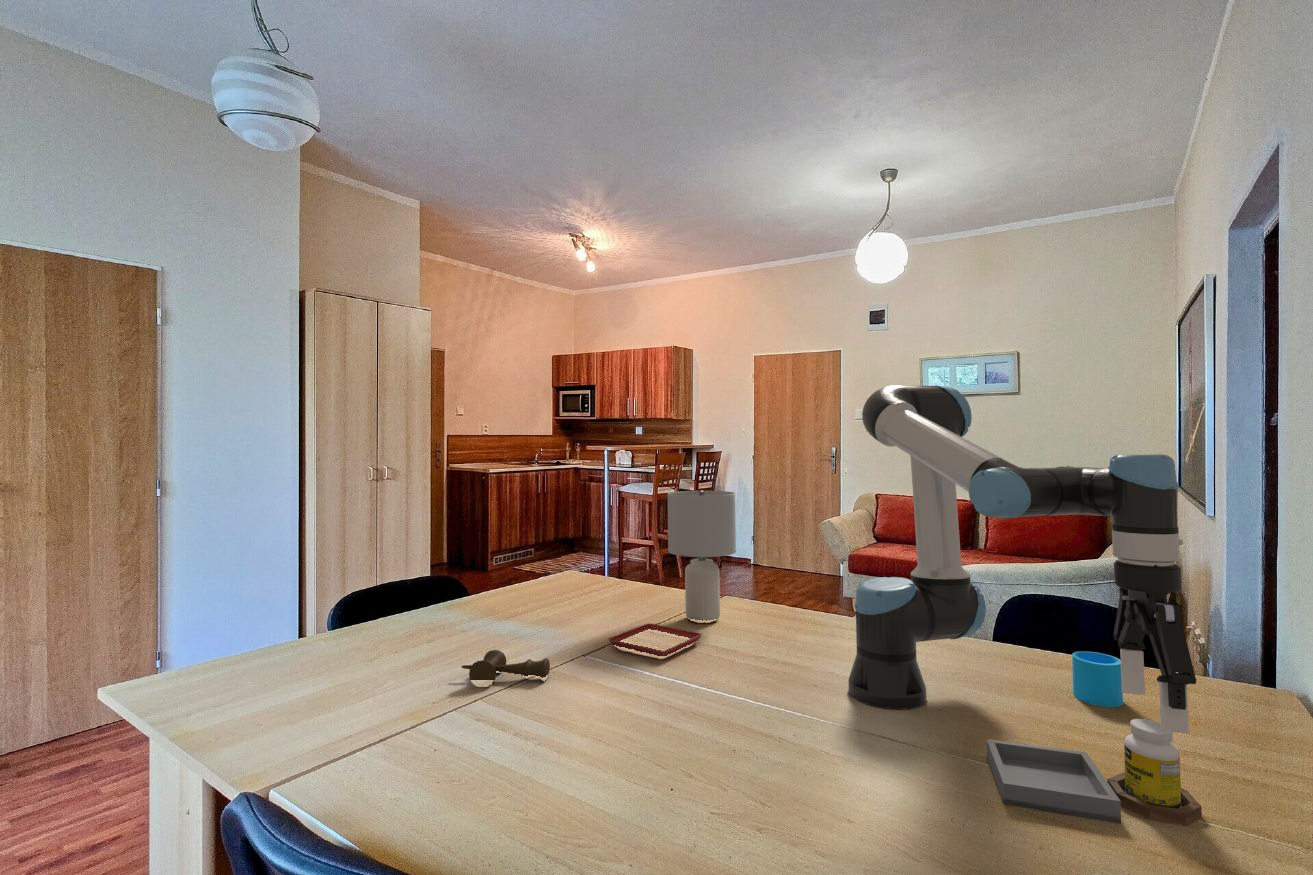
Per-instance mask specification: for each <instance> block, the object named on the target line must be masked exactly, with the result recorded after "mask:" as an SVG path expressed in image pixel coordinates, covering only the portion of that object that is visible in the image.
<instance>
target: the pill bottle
mask: <svg viewBox="0 0 1313 875" xmlns="http://www.w3.org/2000/svg"><path fill="white" fill-rule="evenodd" d="M1129 723H1130V725H1129V726H1130V727H1129V730H1130V732H1131V734H1128V735H1127V736H1126V737H1125V739H1124V752H1123V753H1124V773H1125V789H1124V790H1125V791H1124V792H1125V793H1126V794H1128V795H1130V796H1132V797H1135V798H1137V799H1139V800H1141V801H1144V802H1146V803H1148V804H1150V805H1156V806H1163V807H1169V808H1176V809H1180V808H1182V804H1181V788H1182V787H1181V780H1182V779H1181V755H1180V751H1179V749H1178V748H1177V747H1176V746H1175V745H1174V744H1173V743H1172V742H1173V736H1174V735H1173V732H1169V731H1163V730H1162V729H1161V722H1158V721H1155V720H1151V719H1147V718H1146V719H1145V718H1134V719H1131V720H1130V722H1129Z"/></svg>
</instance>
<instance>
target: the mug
mask: <svg viewBox="0 0 1313 875" xmlns="http://www.w3.org/2000/svg"><path fill="white" fill-rule="evenodd" d="M1071 659H1072V660H1071V661H1072V665H1071V666H1072V667H1071V668H1072V694H1073V697H1074V698H1075V699H1077V700H1079V701H1081V702H1083V703H1086V704H1089V705H1093V706H1097V707H1105V708H1119V707H1122V706H1123V704H1124V693H1123V692H1122V681H1121V658H1118V657H1116V656H1113V655H1109V654H1105V653H1102V652H1101V653H1100V652H1096V651H1095V652H1094V651H1075V652H1073V653H1072V655H1071Z"/></svg>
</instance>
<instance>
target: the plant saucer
mask: <svg viewBox="0 0 1313 875" xmlns="http://www.w3.org/2000/svg"><path fill="white" fill-rule="evenodd" d="M648 629H651V630H658V631H661V632H667V633H670V634H675V635H678V636H684V637H688V638H690V639H689V640H687V641H685V642H683V643H680V644H678V645H676V646H674V647H672V648H669V649H667V650H665V651H661V650H656V649H652V648H648V647H643V646H638V645H633V644H629V643H624V642H620V641H621V640H623V639H626V638H628V637H630V636H633V635H635V634H638V633H639V632H643V631H645V630H648ZM702 635H703V634H702V633H701V632H696V631H691V630H685V629H680V628H677V627H676V628H675V627H670V626H664V625H660V624H656V623H655V624H654V623H646V624H644V625H640V626H638V627H636V628H633V629H632V628H631V629H630V630H626V631H624V632H621V633H619V634H617V635H614V636H612V637H608V639H607V640H608V641H609V643H611V645H612V646H613V645H616V646H619V647H625V648H628V649H634V650H636V651H640V652H646V653H649V654H654V655H657V656H667V655H668V654H671V653H673V652H676V651H677V650H679V649H681V648H683V647H686V646H687V645H690V644H692V643H694V642H696V641H697V642H698V641H699V640H700V638H701V637H702ZM697 642H696V643H697Z"/></svg>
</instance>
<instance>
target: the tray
mask: <svg viewBox="0 0 1313 875" xmlns="http://www.w3.org/2000/svg"><path fill="white" fill-rule="evenodd" d="M985 742H986V743H985V744H986V759H987V762H988V765H989V768H990V770H991V772H992V776H993V779H994V781H995V783H996V787H997V790H998V793H999V794H1000V798H1001V799H1002V800H1001V801H1002V803H1003V805H1005V806H1012V807H1019V808H1024V809H1029V810H1030V809H1031V810H1036V811H1042V812H1049V813H1055V814H1061V815H1066V816H1073V817H1080V818H1086V819H1091V820H1098V821H1101V822H1102V821H1104V822H1109V823H1115V824H1121V825H1122V806H1121V801H1120V800H1119V798H1118V797H1117V795H1116V794H1115V792H1114V791H1113V790H1112V788H1111V787H1110V785H1109V784H1108V782H1107V779H1106V778H1105V776H1104V775H1103V774H1102V772H1101V771H1100V770H1099V768H1098V767H1097V765H1096V764H1095V763H1094V760H1093V759H1092V758H1091V757H1090V755H1089V753H1088V752H1086V751H1079V750H1073V749H1066V748H1065V749H1064V748H1057V747H1050V746H1044V745H1043V746H1041V745H1035V744H1034V745H1033V744H1027V743H1019V742H1011V741H1004V740H998V739H997V740H996V739H990V738H986V740H985Z"/></svg>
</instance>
